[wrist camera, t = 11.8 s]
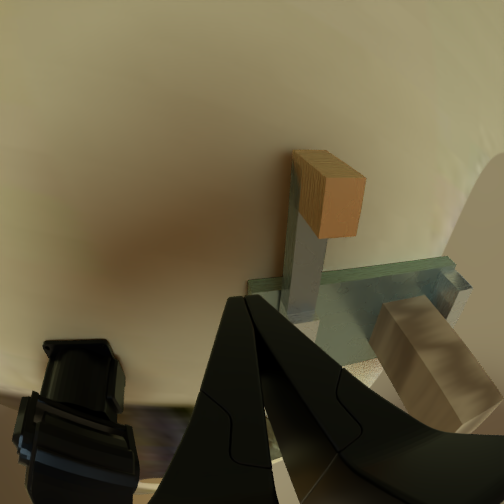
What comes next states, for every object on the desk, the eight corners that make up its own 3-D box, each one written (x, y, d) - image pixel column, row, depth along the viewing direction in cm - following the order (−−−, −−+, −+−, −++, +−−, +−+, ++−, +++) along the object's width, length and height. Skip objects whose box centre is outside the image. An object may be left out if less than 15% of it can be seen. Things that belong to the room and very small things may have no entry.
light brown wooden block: (271, 379, 28) (284, 422, 24) (292, 149, 17) (326, 177, 13) (292, 376, 28) (307, 417, 25) (325, 150, 17) (366, 177, 14)
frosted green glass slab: (246, 370, 29) (256, 409, 26) (248, 280, 24) (261, 323, 20) (413, 336, 33) (432, 364, 29) (447, 256, 27) (475, 283, 23)
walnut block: (368, 342, 29) (430, 454, 18) (382, 303, 26) (462, 424, 15) (408, 332, 30) (472, 431, 19) (424, 294, 27) (504, 398, 16)
